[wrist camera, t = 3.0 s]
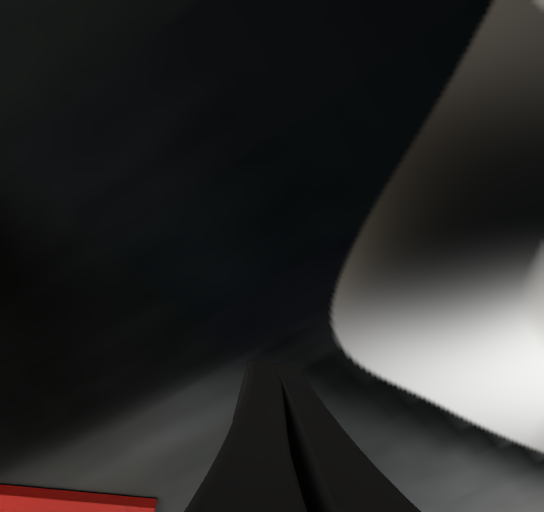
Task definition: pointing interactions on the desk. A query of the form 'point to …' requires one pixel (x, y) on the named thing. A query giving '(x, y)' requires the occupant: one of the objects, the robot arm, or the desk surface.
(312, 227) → the desk surface
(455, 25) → the desk surface
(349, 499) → the robot arm
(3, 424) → the desk surface
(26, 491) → the red spoon
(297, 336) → the desk surface
